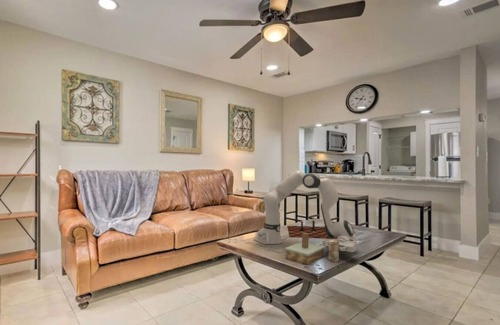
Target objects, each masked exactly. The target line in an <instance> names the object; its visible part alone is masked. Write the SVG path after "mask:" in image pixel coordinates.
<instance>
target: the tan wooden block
mask: <svg viewBox="0 0 500 325" xmlns="http://www.w3.org/2000/svg"><path fill="white" fill-rule="evenodd" d="M339 251H340V250H339V241H336V239H333V240H331V241H329V247H328V261H330V262H334V263H336V262H338V261H339V260H340V259H339V258H340V257H339V256H340V255H339V253H340V252H339Z"/></svg>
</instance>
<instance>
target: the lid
mask: <svg viewBox="0 0 500 325" xmlns="http://www.w3.org/2000/svg"><path fill="white" fill-rule="evenodd" d="M309 239H310V238H309V234H308V233H302V238H301V241H300V242H296V243H294V244H292V245H290V246H287V247H284V251H286V250H287V251H291V252H294V253H298V254H301V255H305V256H310V255H312V254H315V253H317V252H319V251H321V250H323V249H324V250H325V248H326V247H325V246H323V245H319V244H315V243H312V242H309Z"/></svg>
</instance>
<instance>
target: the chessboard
mask: <svg viewBox="0 0 500 325" xmlns="http://www.w3.org/2000/svg"><path fill="white" fill-rule="evenodd" d="M315 223H316V222H315V219H312V226H311V225H309V226H308V225H304V221H300V225H287V232H288V237H289V238H301V239H302V233H308V234H309V239H323V240H325V239H332V238H330V237H328V236H327V235H326V232H325V226H316V225H315ZM337 238H338V237H336V238H333V240H336V239H337Z"/></svg>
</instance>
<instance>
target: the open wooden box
mask: <svg viewBox="0 0 500 325" xmlns="http://www.w3.org/2000/svg"><path fill="white" fill-rule="evenodd" d="M324 254H325V249H323V250H321V251H319V252H317V253H315V254H312V255H310V256H305V255H301V254H298V253H294V252H291V251H287V250H285V258H286V259H288V260H292V261H295V262H298V263H302V264H304V265H309V264H312V263H314V262H315V261H318V260H319V259H321V258H323V257H324Z"/></svg>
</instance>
